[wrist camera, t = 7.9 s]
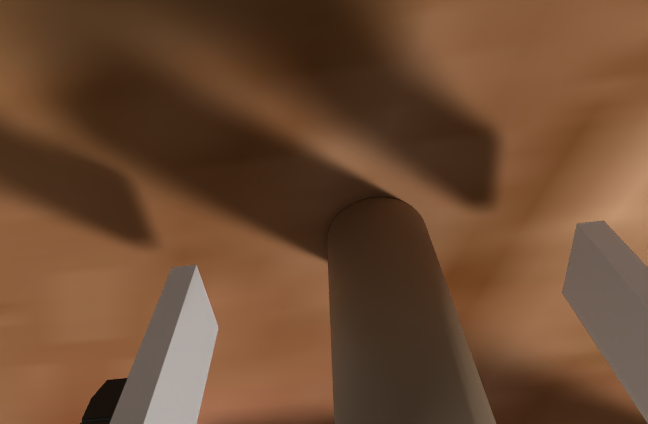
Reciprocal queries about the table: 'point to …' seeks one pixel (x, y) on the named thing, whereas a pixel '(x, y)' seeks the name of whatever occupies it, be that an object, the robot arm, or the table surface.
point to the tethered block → (396, 324)
